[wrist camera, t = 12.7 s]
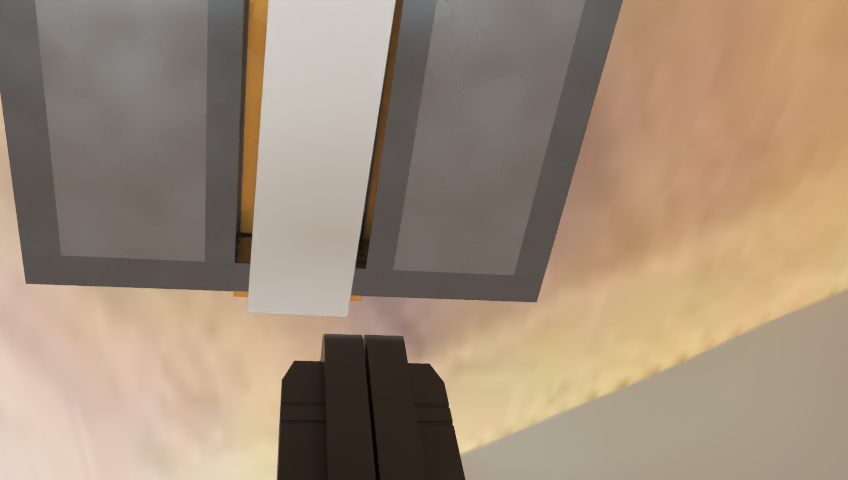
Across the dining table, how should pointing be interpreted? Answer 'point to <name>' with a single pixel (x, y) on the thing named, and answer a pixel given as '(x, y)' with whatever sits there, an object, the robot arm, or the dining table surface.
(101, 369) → the dining table surface
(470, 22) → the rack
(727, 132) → the dining table surface
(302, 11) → the white rectangular block
